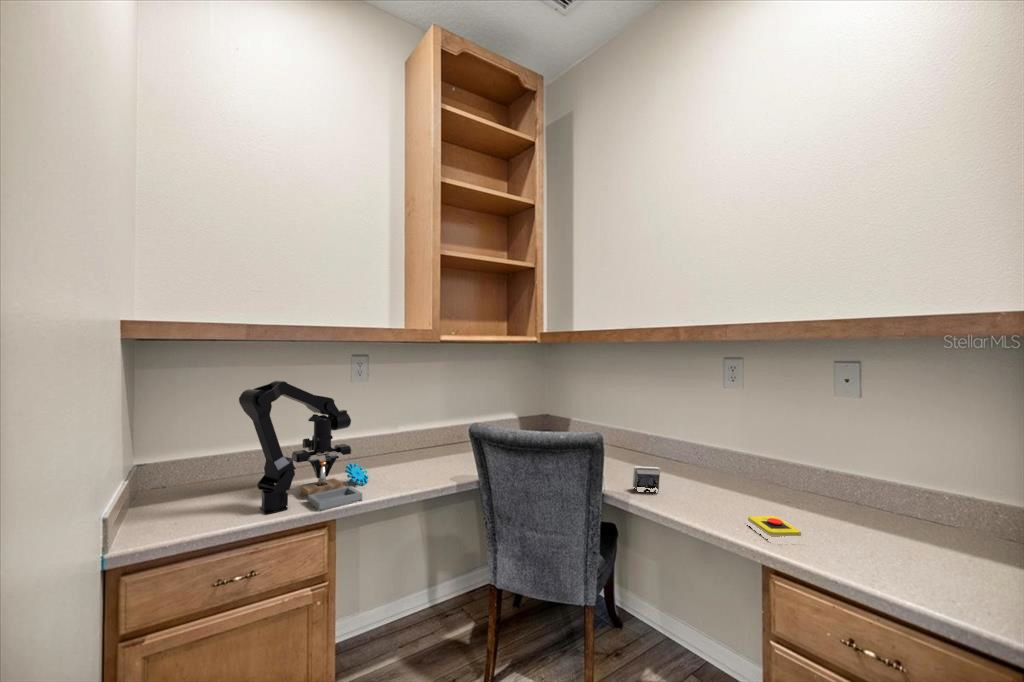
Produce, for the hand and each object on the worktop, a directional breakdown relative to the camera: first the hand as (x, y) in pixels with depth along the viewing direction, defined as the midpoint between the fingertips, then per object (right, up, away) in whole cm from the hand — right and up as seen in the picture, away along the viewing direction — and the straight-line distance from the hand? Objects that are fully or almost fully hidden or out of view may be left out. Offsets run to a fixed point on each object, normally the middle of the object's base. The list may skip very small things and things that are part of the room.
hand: (322, 477), depth 155 cm
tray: (+8, -5, -9) cm, 13 cm away
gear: (+9, -6, +11) cm, 15 cm away
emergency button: (+141, -7, -30) cm, 144 cm away
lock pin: (0, -5, 0) cm, 4 cm away
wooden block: (0, -6, 0) cm, 6 cm away
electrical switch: (+116, -7, +5) cm, 116 cm away
